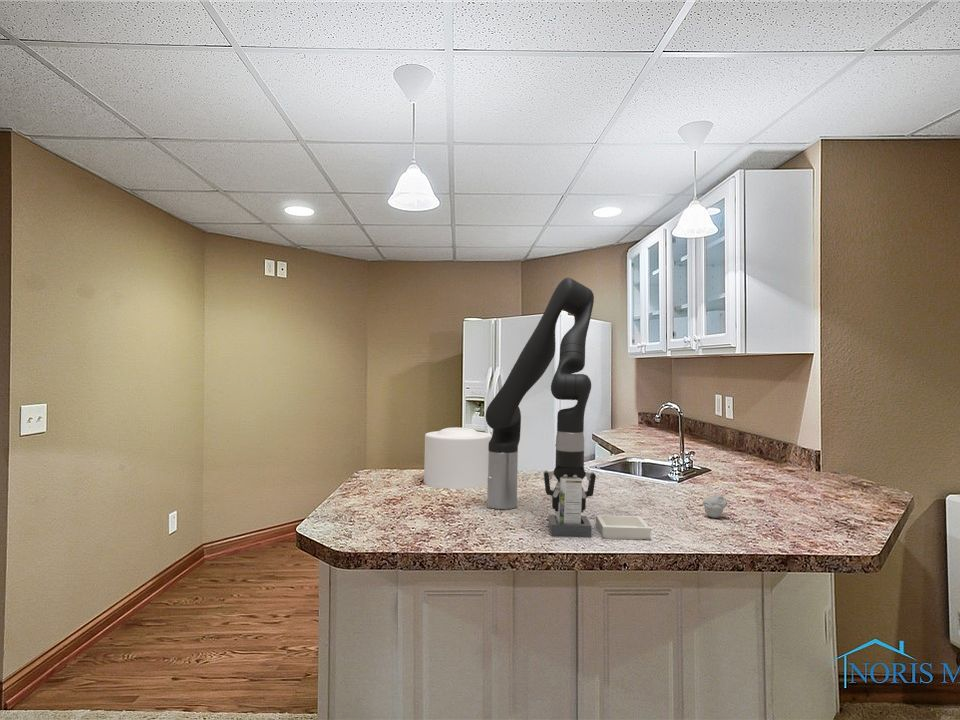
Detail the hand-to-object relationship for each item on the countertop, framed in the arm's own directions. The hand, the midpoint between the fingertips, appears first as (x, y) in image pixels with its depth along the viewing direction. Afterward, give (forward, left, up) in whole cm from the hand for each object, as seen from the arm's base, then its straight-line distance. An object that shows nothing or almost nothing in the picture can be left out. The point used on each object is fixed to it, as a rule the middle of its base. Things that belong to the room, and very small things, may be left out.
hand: (568, 511), depth 155 cm
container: (-35, +62, -6) cm, 71 cm away
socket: (0, 0, -5) cm, 5 cm away
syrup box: (0, 0, -5) cm, 5 cm away
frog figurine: (+45, +19, -6) cm, 49 cm away
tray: (+14, 0, -5) cm, 15 cm away
